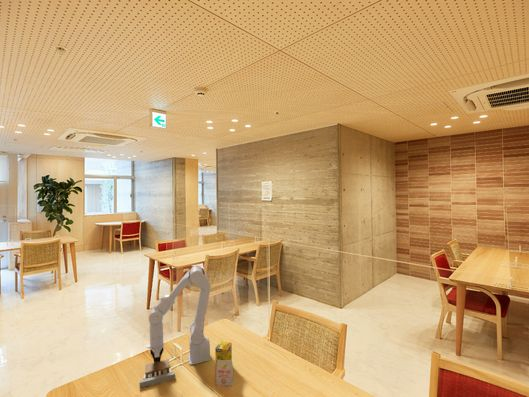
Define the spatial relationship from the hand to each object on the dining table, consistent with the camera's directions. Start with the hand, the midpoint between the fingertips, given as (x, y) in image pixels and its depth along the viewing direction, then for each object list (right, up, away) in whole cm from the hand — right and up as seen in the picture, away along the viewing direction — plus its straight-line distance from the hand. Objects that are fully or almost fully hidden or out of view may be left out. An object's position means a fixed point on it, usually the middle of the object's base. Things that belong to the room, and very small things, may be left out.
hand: (157, 363), depth 127 cm
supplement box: (+31, -1, -2) cm, 31 cm away
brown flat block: (+2, -1, -5) cm, 6 cm away
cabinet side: (+4, -1, -9) cm, 10 cm away
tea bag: (+33, -2, -11) cm, 35 cm away
